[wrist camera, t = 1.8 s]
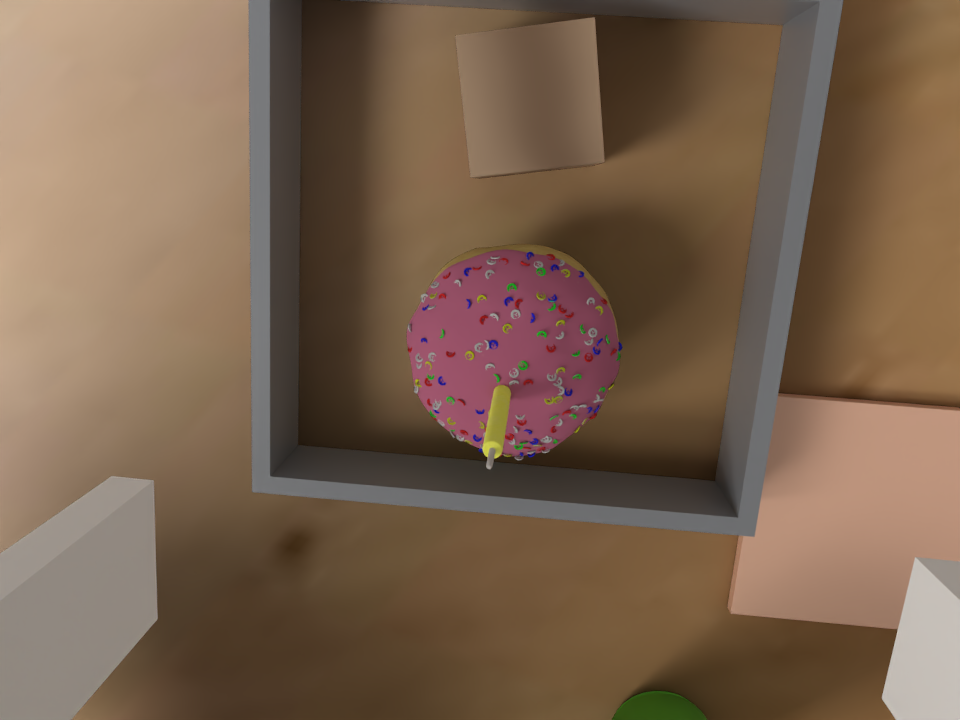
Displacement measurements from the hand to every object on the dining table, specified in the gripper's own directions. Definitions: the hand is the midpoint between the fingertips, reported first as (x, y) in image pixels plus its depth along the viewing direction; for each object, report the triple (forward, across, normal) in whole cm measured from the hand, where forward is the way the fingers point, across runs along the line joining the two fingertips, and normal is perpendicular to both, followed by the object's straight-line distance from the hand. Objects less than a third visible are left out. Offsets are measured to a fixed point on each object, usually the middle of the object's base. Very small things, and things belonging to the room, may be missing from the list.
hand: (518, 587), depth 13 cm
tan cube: (+22, -1, +10) cm, 24 cm away
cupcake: (+22, -1, 0) cm, 22 cm away
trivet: (+22, +16, -7) cm, 28 cm away
